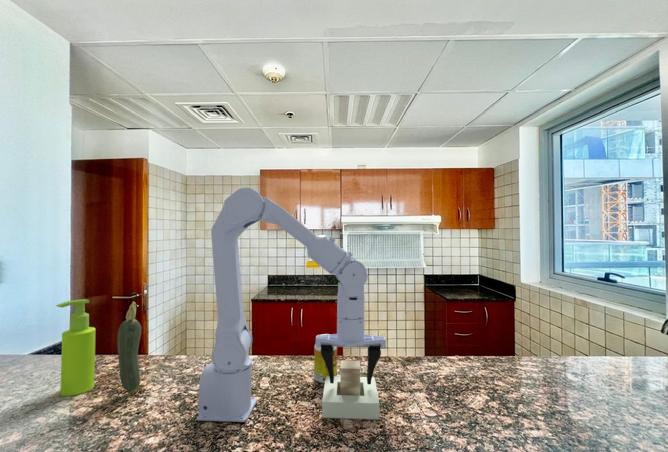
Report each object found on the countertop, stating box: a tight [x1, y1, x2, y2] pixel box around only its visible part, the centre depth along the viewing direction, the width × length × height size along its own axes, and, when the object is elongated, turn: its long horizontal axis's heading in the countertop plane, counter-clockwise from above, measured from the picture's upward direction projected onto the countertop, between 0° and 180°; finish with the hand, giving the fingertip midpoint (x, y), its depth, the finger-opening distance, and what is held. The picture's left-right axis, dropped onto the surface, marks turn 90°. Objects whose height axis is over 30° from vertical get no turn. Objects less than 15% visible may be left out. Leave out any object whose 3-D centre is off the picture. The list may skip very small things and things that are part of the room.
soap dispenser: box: [56, 298, 97, 397], centre depth 70 cm, size 6×7×20 cm
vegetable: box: [116, 300, 142, 394], centre depth 69 cm, size 4×4×20 cm
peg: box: [339, 359, 361, 396], centre depth 65 cm, size 4×4×8 cm
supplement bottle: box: [313, 333, 338, 384], centre depth 77 cm, size 6×6×10 cm
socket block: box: [321, 375, 381, 420], centre depth 65 cm, size 11×11×3 cm
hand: (350, 381), depth 65 cm, fingers open, 7 cm apart
